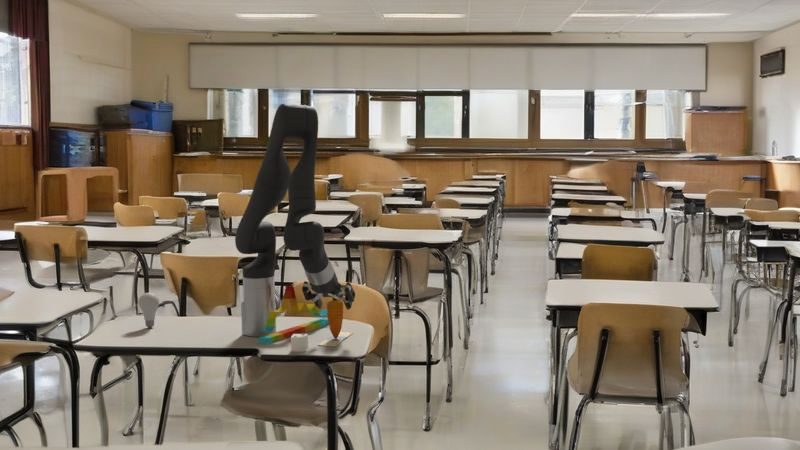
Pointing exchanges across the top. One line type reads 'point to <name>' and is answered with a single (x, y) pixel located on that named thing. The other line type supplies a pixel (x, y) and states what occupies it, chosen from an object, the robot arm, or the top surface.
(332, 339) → the flat strip
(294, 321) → the top surface
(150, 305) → the lightbulb
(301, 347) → the die
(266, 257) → the robot arm
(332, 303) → the carrot
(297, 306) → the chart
